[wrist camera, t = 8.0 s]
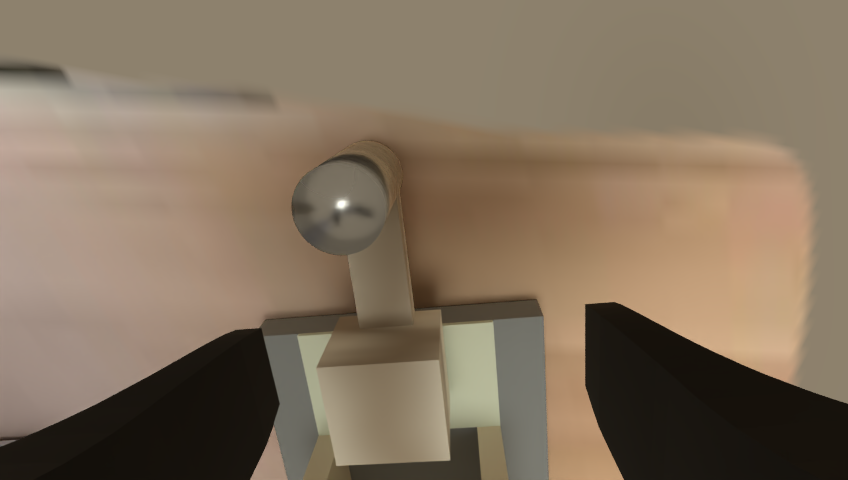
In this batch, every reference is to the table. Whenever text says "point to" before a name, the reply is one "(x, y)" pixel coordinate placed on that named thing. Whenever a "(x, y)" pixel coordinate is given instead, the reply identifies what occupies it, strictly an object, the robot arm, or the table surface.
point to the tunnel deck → (469, 397)
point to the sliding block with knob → (375, 316)
